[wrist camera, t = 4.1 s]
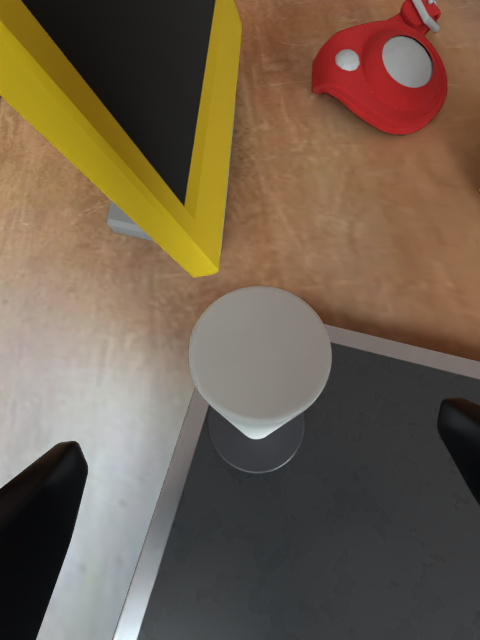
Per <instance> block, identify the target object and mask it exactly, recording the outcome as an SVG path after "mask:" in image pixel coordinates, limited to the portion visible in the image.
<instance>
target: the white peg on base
mask: <svg viewBox="0 0 480 640" xmlns="http://www.w3.org/2000/svg"><path fill="white" fill-rule="evenodd" d="M188 360H189V368H190V372H191V375H192V378H193V381H194V383H195V385H196V387H197V389H198V391H199V392H200V394H201V395H202V396H203V398H204V399H205V400H206V402H208V403H209V404H210V405H211V408H210V412H209V420H208V422H209V433H210V437H211V440H212V443H213V445H214V447H215V449H216V451H217V452H218V453H219V455H220V456H221V457H222V458H223V459H224V460H225V461H226V462H227V463H228V464H230V465H231V466H233V467H234V468H236V469H238V470H241V471H243V472H247V473H255V474H259V473H267V472H271V471H274V470H276V469H278V468H280V467H282V466H283V465H285V464H286V463H287V462H288V461H289V460H290V459H291V458H292V457H293V456H294V455H295V453H296V452H297V450H298V448H299V446H300V444H301V442H302V438H303V435H304V422H305V421H304V414H303V411H305V410H306V409H307V408H308V407H309V406H310V405H312V404H313V403H314V401H315V400H316V399H317V398H318V397H319V395H320V394H321V392H322V390H323V389H324V387H325V385H326V382H327V380H328V377H329V373H330V370H331V362H332V350H331V343H330V339H329V336H328V332H327V330H326V328H325V326H324V324H323V322H322V321H321V319H320V317H319V316H318V315H317V313H316V312H315V311H314V310H313V309H312V308H311V307H310V306H309V305H308V304H307V303H306V302H305V301H303V300H302V299H301V298H299V297H297V296H296V295H294V294H292V293H290V292H288V291H285V290H282V289H279V288H275V287H269V286H249V287H244V288H240V289H237V290H234V291H231V292H229V293H227V294H225V295H223V296H222V297H220V298H218V299H217V300H216V301H215V302H213V303H212V304H211V305H210V306H209V307H208V308H207V309H206V310H205V311H204V313H203V314H202V315H201V316H200V318H199V320H198V321H197V323H196V325H195V327H194V329H193V332H192V335H191V338H190V343H189V350H188Z"/></svg>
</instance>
